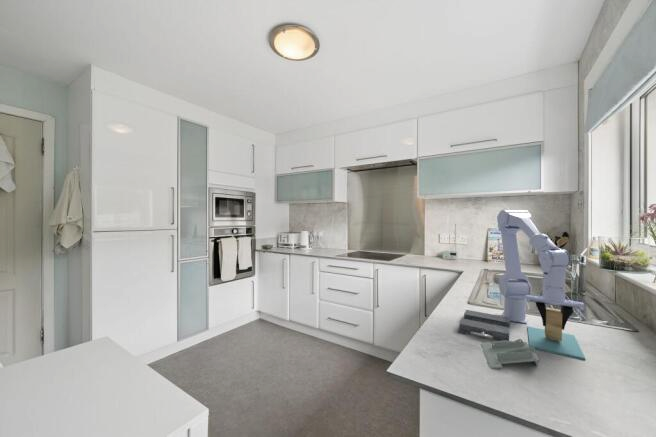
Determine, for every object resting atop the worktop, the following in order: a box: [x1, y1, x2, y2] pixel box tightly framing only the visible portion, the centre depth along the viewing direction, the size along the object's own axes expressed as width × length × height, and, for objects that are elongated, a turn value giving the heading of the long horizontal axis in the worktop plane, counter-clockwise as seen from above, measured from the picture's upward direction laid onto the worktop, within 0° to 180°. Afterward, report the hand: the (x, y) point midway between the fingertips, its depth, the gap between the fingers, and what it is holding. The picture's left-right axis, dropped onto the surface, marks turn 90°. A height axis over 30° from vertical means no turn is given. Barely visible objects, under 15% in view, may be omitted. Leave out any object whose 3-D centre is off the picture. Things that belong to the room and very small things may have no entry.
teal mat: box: [527, 326, 586, 361], centre depth 90 cm, size 18×13×1 cm
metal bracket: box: [480, 338, 540, 370], centre depth 80 cm, size 14×6×15 cm
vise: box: [458, 309, 511, 341], centre depth 101 cm, size 22×15×3 cm
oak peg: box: [544, 307, 563, 341], centre depth 90 cm, size 4×4×9 cm
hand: (553, 326), depth 90 cm, fingers closed on oak peg, 4 cm apart
